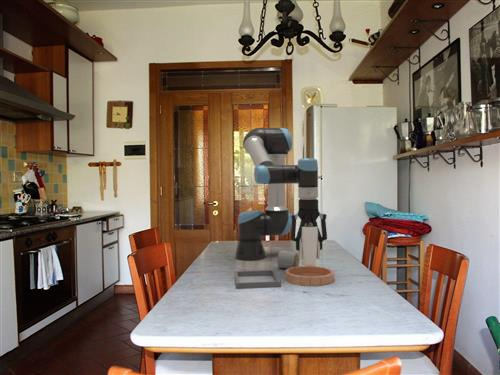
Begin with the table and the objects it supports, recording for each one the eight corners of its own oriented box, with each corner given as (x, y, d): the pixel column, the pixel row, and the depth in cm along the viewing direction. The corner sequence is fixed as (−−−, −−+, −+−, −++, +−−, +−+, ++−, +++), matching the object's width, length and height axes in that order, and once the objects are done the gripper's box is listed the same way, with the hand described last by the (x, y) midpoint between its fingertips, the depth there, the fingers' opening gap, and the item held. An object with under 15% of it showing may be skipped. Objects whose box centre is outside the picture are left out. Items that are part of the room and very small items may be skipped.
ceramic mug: (295, 271, 157) (295, 252, 157) (277, 269, 160) (277, 251, 160) (302, 266, 166) (301, 249, 166) (284, 264, 170) (284, 248, 170)
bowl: (282, 274, 152) (282, 266, 152) (326, 272, 153) (326, 265, 153) (290, 286, 133) (290, 278, 133) (340, 284, 135) (340, 276, 135)
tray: (234, 275, 150) (234, 271, 150) (274, 274, 151) (274, 270, 151) (236, 288, 132) (236, 283, 132) (281, 286, 133) (281, 281, 133)
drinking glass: (298, 263, 146) (298, 225, 146) (315, 262, 147) (315, 224, 147) (302, 267, 140) (302, 227, 139) (320, 266, 140) (320, 226, 140)
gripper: (285, 199, 138) (286, 261, 139) (335, 198, 140) (336, 259, 140) (281, 198, 146) (282, 257, 146) (330, 197, 147) (330, 255, 148)
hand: (309, 258), depth 143 cm, fingers closed on drinking glass, 6 cm apart
